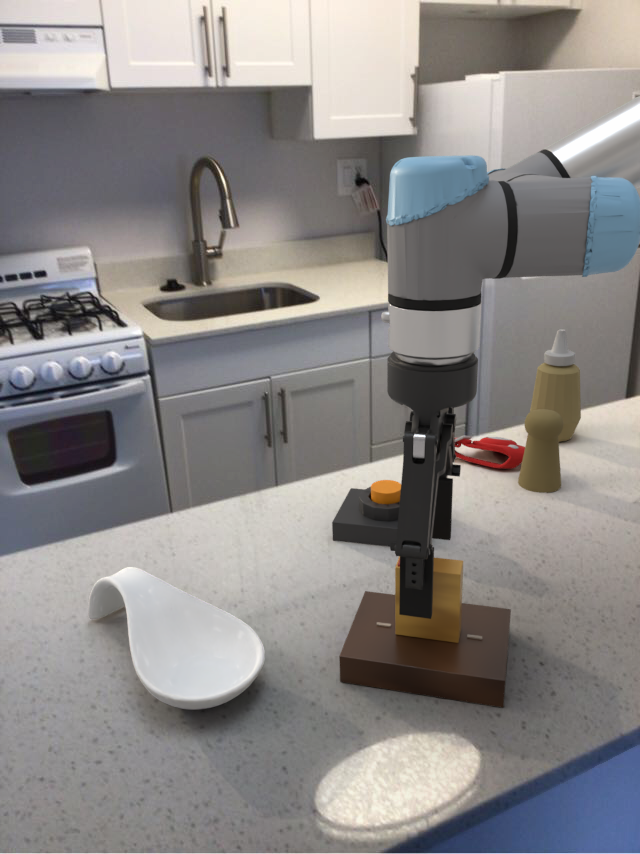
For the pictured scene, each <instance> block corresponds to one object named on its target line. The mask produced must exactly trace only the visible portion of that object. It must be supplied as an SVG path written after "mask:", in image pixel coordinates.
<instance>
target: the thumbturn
mask: <svg viewBox="0 0 640 854" xmlns="http://www.w3.org/2000/svg"><path fill="white" fill-rule="evenodd" d="M394 574H395V575H394V576H395V577H394V595H395V633H396V634H397V635H404V636H411V637H418V638H426V639H433V640H440V641H447V642H455V643H458V642H459V637H460V631H461V617H462V603H463V588H464V587H463V585H464V584H463V583H464V582H463V581H464V560H461V559H454V558H453V559H452V558H443V557H435V556H434V569H433V606H432V617H431V619H428V618H420V617H413V616H406V615H399V607H400V556H398V558H397V561H396V564H395V567H394Z"/></svg>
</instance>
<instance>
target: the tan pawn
mask: <svg viewBox="0 0 640 854" xmlns="http://www.w3.org/2000/svg"><path fill="white" fill-rule="evenodd" d="M524 429H525V431H526V433H527V437H526V441H525V446H524V447H525V451H524V455H523V460H522V463H521V464H520V470H519V475H518V479H517V483H518V486H519V487H520V488H522V489H524V490H526V491H530V492H533V493H541V494H542V493H545V494H550V493H554V492H557V491H559V490H560V489H561V488H562V476H561V475H562V473H561V459H560V458H561V457H560V444H559V443H560V442H559V441H558V436H559V434H560V433H561V432H562V429H563V419H562V417H561V415H560V414H559V413H557V412H555V411H552V410H546V409H539V410H534V411H531V412H530V411H529V412H528V414H527V415H526V417H525V419H524Z"/></svg>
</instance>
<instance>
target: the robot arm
mask: <svg viewBox="0 0 640 854" xmlns="http://www.w3.org/2000/svg"><path fill="white" fill-rule="evenodd" d="M388 185H389V187H388V200H387V201H388V202H387V215H386V217H385V222H386V223H385V224H386V227H387V228H386V235H387V238H386V239H387V240H386V241H387V244H386V245H387V246H386V247H387V302H388V303H387V305H388V307H387V310H385V311H382V313H381V316H380V321H381V322H382V323H385V324H389V325H388V326H389V327H388V329H387V347H388V349H389V350H391V351H392V352H391V353H390V355H388V356H387V359H386V360H387V364H386V366H387V367H386V370H387V371H386V372H387V374H386V375H387V376H386V379H387V380H386V381H387V383H386V385H387V386H386V389H387V390H386V391H387V395H388V396H389V399H391V400H392V401H393V402H395V403H396V404H399V405H401V406H405V407H408V408H410V409H411V410H410V413H409V420H406V421H405V425H404V432H403V436H402V442H403V453H402V455H403V456H402V458H403V459H402V472H401V483H400V484H401V493H400V505H399V516H398V528H397V540H396V543H395V542H391V543H390V547H389V549H390V551H391V552H394V554H395V556H396V557H399V556H400V607H399V615H406V616H413V617H420V618H428V619H431V617H432V606H433V569H434V557H435V547H434V546H433V540H434V539H435V540H444V541H451V540H452V539H451V538H452V519H453V492H454V490H453V489H454V478H451V477H458V478H459V477H460V476H461V470H462V468H461V464H454V463H455V461H456V460H457V457H456V454H455V450H456V447H455V433H456V425H457V414H456V413H455V408H459V407H462V406H463V407H464V406H465V405H467V404H470V403H471V402H472V401H473V400H474V399H475V397H476V396H477V393H478V373H479V372H478V371H479V358H478V357H477V356H476V354H475V353H476V352H477V351H478V349H480V345H481V342H480V341H481V322H482V304H483V303H482V302H483V301H482V288H483V287H482V286H483V281H484V280H485V279H486V280H487V279H492V280H496V279H497V280H498V279H507V278H510V279H511V278H537V277H562V276H563V277H569V276H571V277H572V276H581V277H582V278H587V277H588V276H591V275H598V274H608V273H617V272H619V271H621V270H622V269H625V267H627V266H628V265H629V264H630V262H631V261H632V260H633V258H634V257H635V255H636V253H637V251H638V248H639V245H640V193H639V192H638V190H637V189H639V188H640V95H638V96H636V97H634V98H632V99H631V100H629V101H627V102H625V103H623V104H622V105H620V106H618V107H616V108H614V109H612V110H611V111H609V112H607V113H605V114H603V115H602V116H600V117H598V118H596V119H595V120H592V121H591V122H589V123H587V124H585V125H583V126H582V127H580V128H578V129H576V130H574V131H573V132H571V133H569V134H567V135H566V136H564V137H562V138H560V139H558V140H556V141H555V142H552V143H551V144H549V145H548V146H545V147H543V149H541V150H539V151H537V152H535V153H533V154H531V155H529V156H527V157H526V158H523V159H521V160H520V161H518V162H516V163H514V164H513V165H511V166H509V167H507V168H504V167H503V168H502V167H501V168H496V169H491V170H490V171H488V164H487V161H486V160H485V158H483V157H482V156H480V155H473V154H472V155H471V154H470V155H432V156H431V155H426V156H425V155H424V156H410V157H404V158H401V159H399V160H397V161H396V162H395V163H394V165H393V166H392V167H391V170H390V172H389V184H388ZM448 476H449V477H448Z"/></svg>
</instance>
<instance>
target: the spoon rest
mask: <svg viewBox="0 0 640 854" xmlns="http://www.w3.org/2000/svg"><path fill="white" fill-rule="evenodd" d="M124 607H125V612H126V618H127V619H126V622H127V634H128V635H127V636H128V645H129V650H130V651H129V652H130V657H131V660H132V665H133V668H134V670H135V673H136V675H137V677H138V679H139V681H140V682H141V684H142V685H143V687H144V688H145V690H146V691H147V692H148V693H149V694H150V695H151V696H152V697H153V698H155V699H157V700H158V701H160V702H162V703H163V704H165V705H168V706H171V707H174V708H176V709H183V710H205V709H211V708H214V707H218V706H221V705H223V704H226V703H227V702H230V701H231V700H233V699H235V698H236V697H239V695H240V694H242V693H243V692H244V691H246V690H247V689H248V688H250V686H251V685H252V683H253V682H254V681H255V680H256V679H257V677H258V676H259V675H260V674H261V671H262V670H263V667H264V664H265V660H266V651H265V646H264V644H263V641H262V639H261V637H260V636H259V635H258V633H257V632H256V631H255V630H254V629H253V628H252V627H251V626H250V625H249V624H248V623H246V622H245V621H243V620H242V619H240V618H239V617H237V616H235V615H234V614H232V613H230V612H227V611H226V610H224V609H221V608H220V607H217V606H216V605H214V604H211V603H210V602H207V601H205V600H203V599H201V598H199V597H197V596H195V595H193V594H191V593H189V592H186V591H185V590H182V589H180V588H179V587H176V586H175V585H172V584H170V583H169V582H167V581H165V580H163V579H161V578H159V577H157V576H155V575H154V574H152V573H150V572H148V571H146V570H144V569H142V568H139V567H136V566H127V567H123V568H122V569H120V570H119V571H117V572H115V573H114V574H111V575H108V576H103V577H101V578H99V579H98V580H97V581H96V582H95V583H94V585H93V586H92V589H91V590H90V593H89V597H88V603H87V617H88V618H89V620H98V619H102V618H104V617H107V616H109V615H111V614H113V613H114V612H116V611H118V610H121V609H123V608H124Z"/></svg>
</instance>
